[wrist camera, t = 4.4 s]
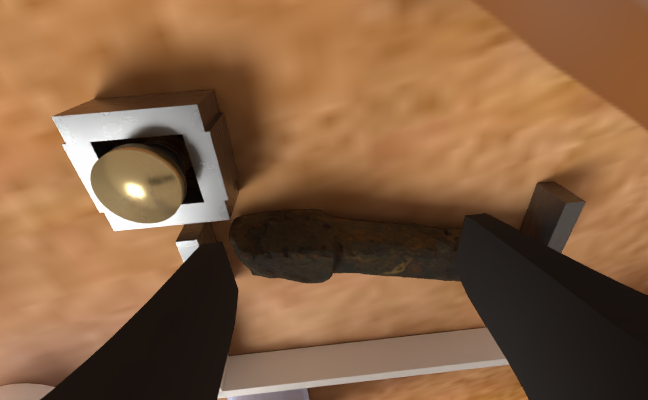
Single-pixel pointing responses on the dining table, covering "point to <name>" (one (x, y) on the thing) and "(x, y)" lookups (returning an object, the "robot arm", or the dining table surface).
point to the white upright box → (24, 391)
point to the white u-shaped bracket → (359, 362)
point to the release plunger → (143, 179)
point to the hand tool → (341, 247)
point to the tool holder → (227, 164)
